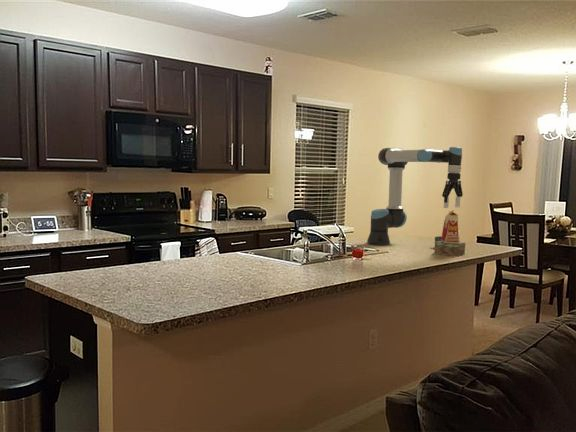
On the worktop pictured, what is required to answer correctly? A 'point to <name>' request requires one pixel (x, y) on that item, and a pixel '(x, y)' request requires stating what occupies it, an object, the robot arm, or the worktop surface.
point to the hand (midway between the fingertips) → (451, 207)
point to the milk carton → (450, 229)
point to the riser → (449, 248)
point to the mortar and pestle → (438, 238)
